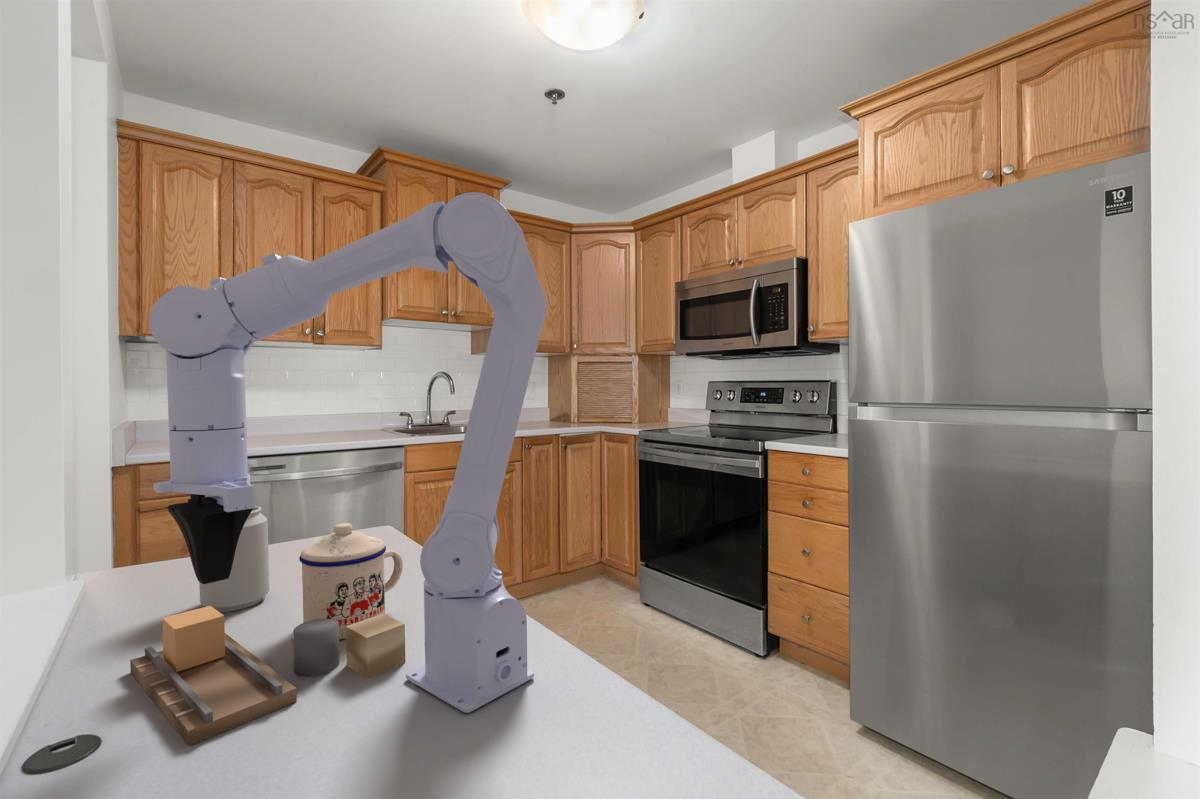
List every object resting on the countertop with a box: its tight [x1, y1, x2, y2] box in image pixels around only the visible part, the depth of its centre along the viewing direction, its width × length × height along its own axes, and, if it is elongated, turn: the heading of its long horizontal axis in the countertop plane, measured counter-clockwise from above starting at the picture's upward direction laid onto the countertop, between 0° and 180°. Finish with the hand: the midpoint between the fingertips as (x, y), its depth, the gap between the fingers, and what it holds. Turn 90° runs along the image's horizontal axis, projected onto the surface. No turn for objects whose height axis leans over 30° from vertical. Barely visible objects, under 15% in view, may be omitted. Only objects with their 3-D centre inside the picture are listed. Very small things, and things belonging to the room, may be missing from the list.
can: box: [198, 505, 270, 613], centre depth 74 cm, size 8×8×12 cm
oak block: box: [345, 613, 406, 679], centre depth 58 cm, size 4×4×4 cm
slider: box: [161, 606, 226, 672], centre depth 56 cm, size 4×4×4 cm
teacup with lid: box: [298, 522, 404, 640], centre depth 68 cm, size 12×9×12 cm
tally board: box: [129, 632, 298, 747], centre depth 54 cm, size 18×8×2 cm, turn 50°
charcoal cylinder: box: [292, 619, 340, 678], centre depth 57 cm, size 4×4×4 cm
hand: (213, 580), depth 52 cm, fingers closed
